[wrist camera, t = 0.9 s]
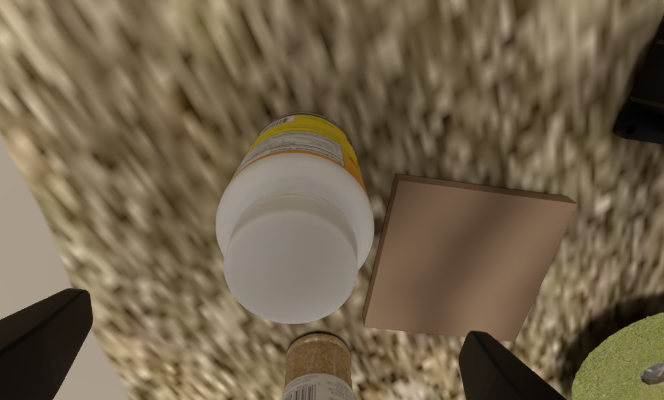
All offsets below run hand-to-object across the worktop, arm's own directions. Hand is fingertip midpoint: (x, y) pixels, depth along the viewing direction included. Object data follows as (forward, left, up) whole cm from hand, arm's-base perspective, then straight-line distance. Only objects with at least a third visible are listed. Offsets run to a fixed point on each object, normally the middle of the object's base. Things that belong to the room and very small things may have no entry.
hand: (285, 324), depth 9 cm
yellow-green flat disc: (-25, +11, -13) cm, 30 cm away
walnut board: (-10, +5, -12) cm, 17 cm away
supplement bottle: (0, 0, -13) cm, 13 cm away
